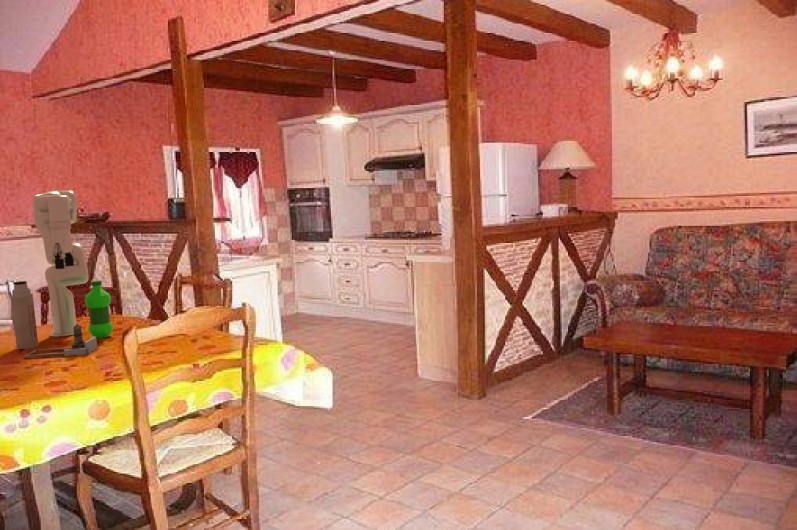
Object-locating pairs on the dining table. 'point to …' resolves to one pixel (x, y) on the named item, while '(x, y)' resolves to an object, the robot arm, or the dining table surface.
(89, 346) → the socket
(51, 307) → the robot arm
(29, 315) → the thermos bottle
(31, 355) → the channel
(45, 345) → the dining table surface
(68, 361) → the dining table surface
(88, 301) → the plastic bottle
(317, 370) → the dining table surface
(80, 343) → the dark grey chess piece
